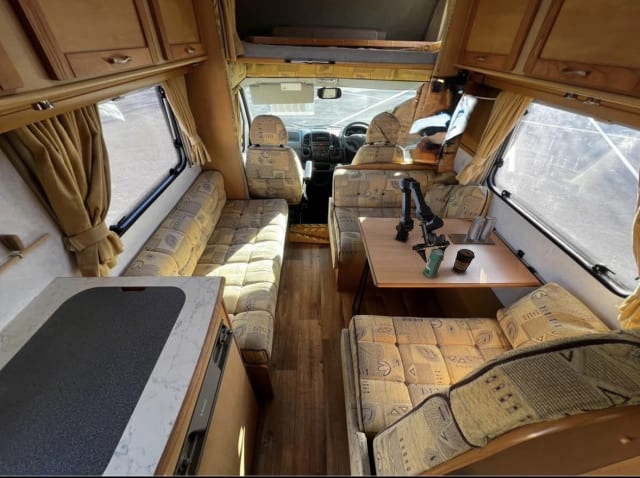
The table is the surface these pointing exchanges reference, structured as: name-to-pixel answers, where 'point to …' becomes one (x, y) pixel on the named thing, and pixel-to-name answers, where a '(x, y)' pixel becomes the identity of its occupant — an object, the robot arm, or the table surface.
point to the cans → (485, 228)
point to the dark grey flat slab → (462, 240)
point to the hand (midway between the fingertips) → (434, 261)
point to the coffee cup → (463, 260)
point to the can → (433, 263)
